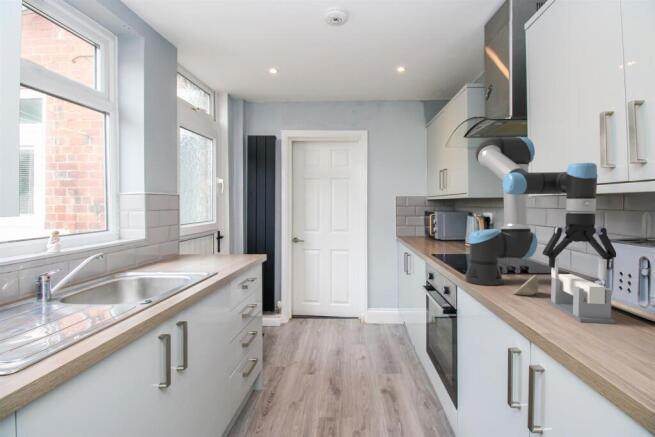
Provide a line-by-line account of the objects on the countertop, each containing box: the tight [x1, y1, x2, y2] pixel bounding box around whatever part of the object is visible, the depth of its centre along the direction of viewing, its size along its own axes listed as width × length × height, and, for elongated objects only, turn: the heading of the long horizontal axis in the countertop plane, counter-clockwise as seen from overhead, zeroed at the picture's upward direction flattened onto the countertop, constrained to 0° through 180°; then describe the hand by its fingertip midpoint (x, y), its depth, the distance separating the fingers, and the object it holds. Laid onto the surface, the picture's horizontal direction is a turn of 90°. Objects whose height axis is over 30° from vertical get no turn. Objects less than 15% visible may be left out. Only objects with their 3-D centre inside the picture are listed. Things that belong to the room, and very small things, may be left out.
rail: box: [558, 273, 606, 304], centre depth 106 cm, size 18×4×5 cm, turn 170°
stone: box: [513, 274, 540, 297], centre depth 128 cm, size 10×7×10 cm
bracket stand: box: [547, 277, 616, 325], centre depth 107 cm, size 20×9×10 cm, turn 170°
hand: (577, 278), depth 107 cm, fingers open, 13 cm apart
